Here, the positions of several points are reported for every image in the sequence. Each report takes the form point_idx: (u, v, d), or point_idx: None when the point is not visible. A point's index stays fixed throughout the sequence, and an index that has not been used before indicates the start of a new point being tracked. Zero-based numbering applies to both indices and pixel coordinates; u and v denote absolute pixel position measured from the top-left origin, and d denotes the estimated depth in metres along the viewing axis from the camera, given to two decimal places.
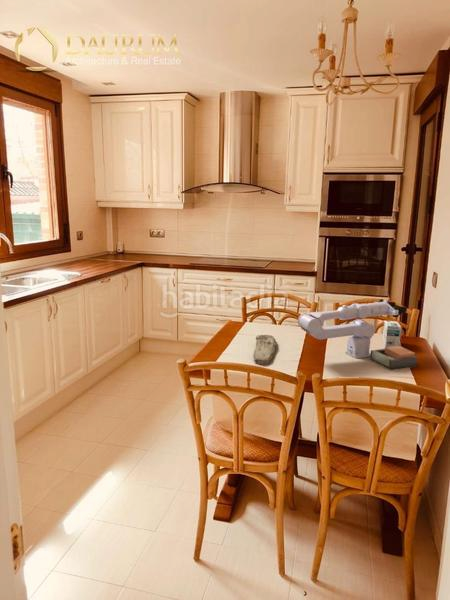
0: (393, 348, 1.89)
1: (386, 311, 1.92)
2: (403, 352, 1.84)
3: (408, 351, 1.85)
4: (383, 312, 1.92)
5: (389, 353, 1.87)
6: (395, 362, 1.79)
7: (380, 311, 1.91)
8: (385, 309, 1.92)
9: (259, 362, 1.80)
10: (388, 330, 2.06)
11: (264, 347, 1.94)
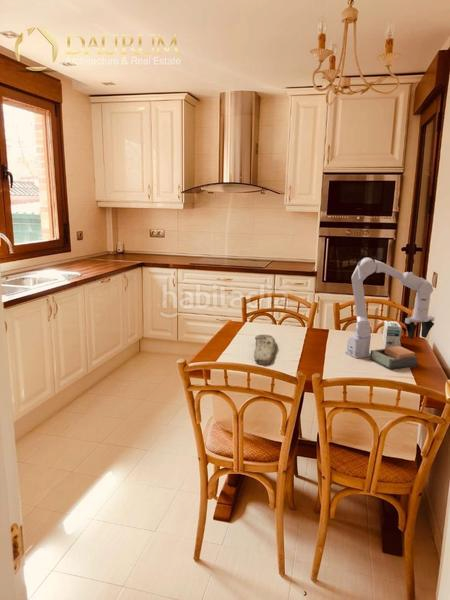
0: (393, 348, 1.89)
1: (414, 316, 1.86)
2: (403, 352, 1.84)
3: (408, 351, 1.85)
4: (414, 312, 1.86)
5: (389, 353, 1.87)
6: (395, 362, 1.79)
7: (415, 308, 1.85)
8: (416, 315, 1.85)
9: (260, 362, 1.80)
10: (388, 330, 2.06)
11: (264, 347, 1.94)
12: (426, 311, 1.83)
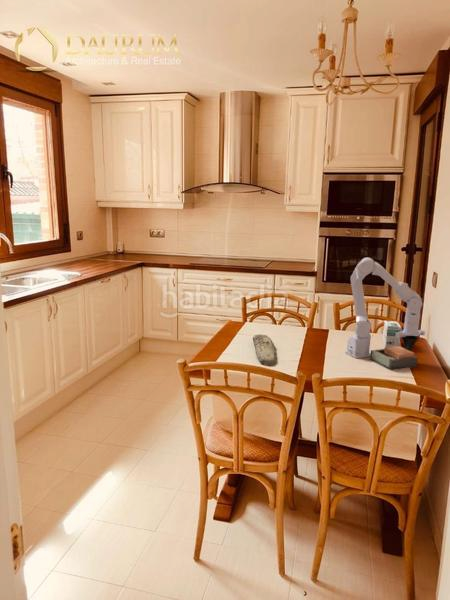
0: (392, 348, 1.89)
1: (404, 330, 1.86)
2: (403, 352, 1.84)
3: (407, 351, 1.85)
4: (404, 326, 1.86)
5: (388, 353, 1.87)
6: (395, 362, 1.79)
7: (406, 323, 1.85)
8: (406, 329, 1.85)
9: (266, 363, 1.80)
10: (388, 330, 2.06)
11: (264, 347, 1.94)
12: (416, 325, 1.83)
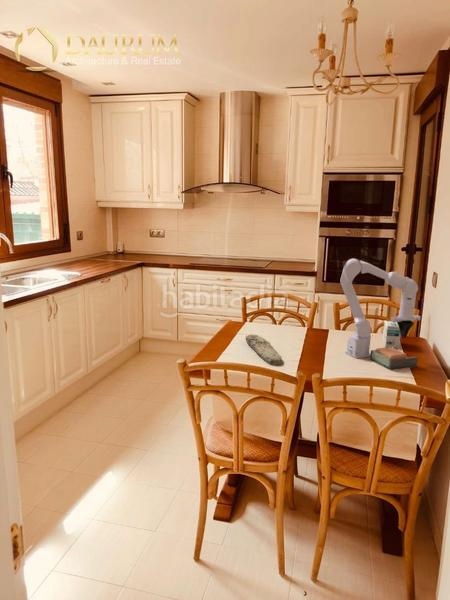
0: (384, 349, 1.87)
1: (400, 315, 1.87)
2: (395, 353, 1.82)
3: (399, 352, 1.84)
4: (400, 311, 1.87)
5: None
6: (395, 362, 1.79)
7: (401, 307, 1.86)
8: (402, 314, 1.86)
9: (275, 362, 1.80)
10: (388, 330, 2.06)
11: (264, 347, 1.94)
12: (412, 310, 1.84)
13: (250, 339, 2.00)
